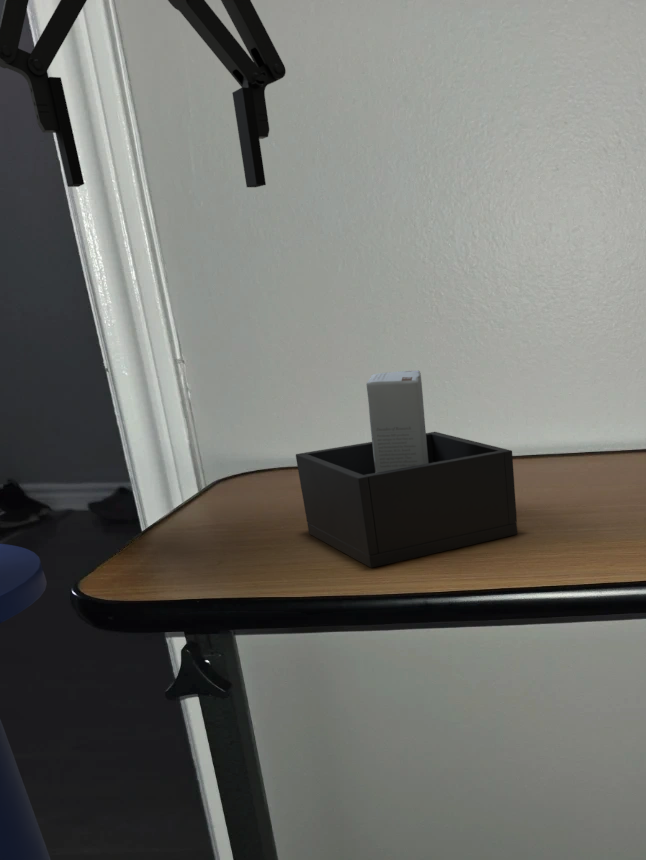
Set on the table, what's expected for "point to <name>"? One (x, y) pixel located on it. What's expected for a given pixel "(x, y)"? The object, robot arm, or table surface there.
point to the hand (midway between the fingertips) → (170, 186)
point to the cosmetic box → (397, 420)
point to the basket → (408, 499)
